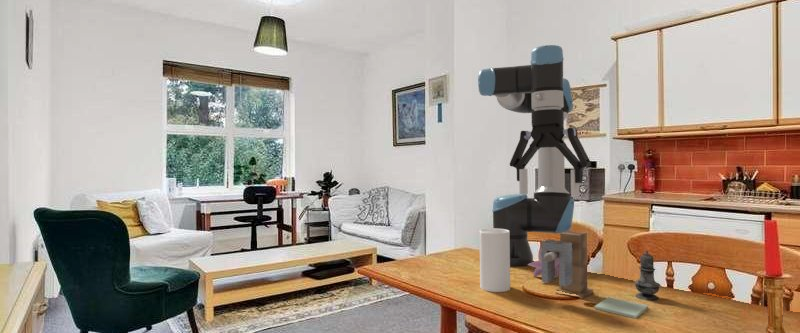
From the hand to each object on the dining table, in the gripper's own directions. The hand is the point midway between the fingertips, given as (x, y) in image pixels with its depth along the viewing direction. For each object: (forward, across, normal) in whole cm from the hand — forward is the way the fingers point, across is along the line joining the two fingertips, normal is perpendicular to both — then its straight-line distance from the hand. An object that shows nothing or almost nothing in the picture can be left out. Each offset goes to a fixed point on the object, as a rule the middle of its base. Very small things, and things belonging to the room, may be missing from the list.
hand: (548, 195), depth 106 cm
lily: (+27, -9, +18) cm, 34 cm away
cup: (+27, -17, +1) cm, 32 cm away
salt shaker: (+27, +16, +21) cm, 37 cm away
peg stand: (+27, +1, +5) cm, 27 cm away
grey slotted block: (+22, +1, +2) cm, 22 cm away
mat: (+27, +14, +8) cm, 31 cm away
